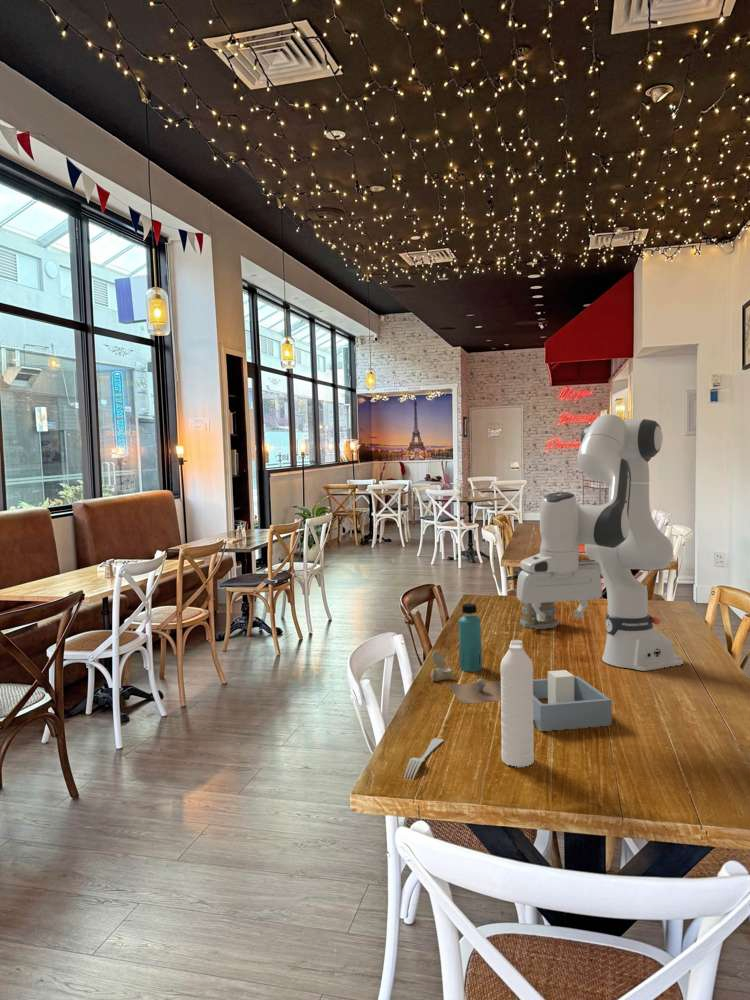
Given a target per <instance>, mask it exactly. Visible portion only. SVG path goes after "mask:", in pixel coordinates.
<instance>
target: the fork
mask: <svg viewBox="0 0 750 1000" xmlns="http://www.w3.org/2000/svg"><path fill="white" fill-rule="evenodd" d="M437 738H438V737H434V738H432V739H431V741H430V743H429V745H428V746H427V749H426V751H424V753H423V754H422V756H421V757H419V758H418V757H411V758H410V759H409V761H408V763H407V766H406V769H405V773H404V776H403V780H405V779H406V781H407V780H408V781H414V779H415V777H416V775H417V773H418V771H419V769H420V767H421V766H422V763H423V762H424V761H426V759H427V757H428V756H429V755H430V754H431V753H432V752H433V751H434V750H435V749H436V748H437V747H438V746H440V745H441V743H443V742H444V741H445V739H444V738H443V739H444V740H443V739H442V738H439V739H437ZM406 776H407V777H406Z"/></svg>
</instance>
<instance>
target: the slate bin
mask: <svg viewBox="0 0 750 1000" xmlns="http://www.w3.org/2000/svg"><path fill="white" fill-rule="evenodd" d="M573 676H574V701H573V702H561V703H549V704H548V703H543V702H541V701H540V700H539V699H548V677H547V678H538V679H533V724H534V725H535V726H536V727H537V728H538V729H539V730H540V731H547V732H553V731H552V730H558V731H566V730H565V729H569V730H578V729H579V728H580V729H587V728H588V727H591V728H601V727H600V726H602V727H610V726H612V699H611V698H609V697H608V696H606V695H605V694H604V693H602V692H601V691H599V690H598V689H597V688H596V687H594V686H593V685H591V684H590V683H589V682H587V681H586V680H584V679H583V678H582V677H580V676H579V675H578V676H577V675H573ZM535 726H534V727H535ZM536 727H535V728H536ZM537 728H536V729H537ZM538 729H537V730H538ZM580 729H579V730H580ZM539 730H538V731H539ZM540 731H539V732H540Z"/></svg>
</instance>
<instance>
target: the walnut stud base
mask: <svg viewBox="0 0 750 1000" xmlns="http://www.w3.org/2000/svg"><path fill="white" fill-rule="evenodd" d="M447 687H448V688H449V689H450V690H451V692H452V693H453V694H454V696H455V697H456V698H457V699H458V701H459V703H460V704H461V705H465V704H467V705H469V704H479V703H490V702H501V682H500V681H499V680H496V681H495V680H494V681H493V680H491V681H485V680H484V679H482V678H478V679H477V680H476V681H475V682H467V683H457V684H456V683H455V684H447Z"/></svg>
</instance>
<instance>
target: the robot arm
mask: <svg viewBox="0 0 750 1000" xmlns="http://www.w3.org/2000/svg"><path fill="white" fill-rule="evenodd" d="M663 440H664V439H663V432H662V428H661V426H660V424H659V423H658V422H657V421H656V420H653V419H646V418H645V419H634V418H633V419H630V418H629V419H628V418H627V419H626V418H625V419H624V418H622V417H620V416H619V415H616V414H613V413H607V414H602V415H599V416H598V417H597V418H595V419H594V421H593V422H591V423H588V424H587V425H585V427H584V428H583V429H582V430H581V433H580V440H579V441H580V445H579V448H578V451H577V455H576V456H577V458H576V461H577V464H578V467H579V468H580V470H581V472H582V473H583V474H584V475H586V476H587V478H589V479H591V480H593V481H596V482H599V483H602V484H605V485H608V502H607V503H604V504H578V503H577V498H576V495H575V494H574V493H571V492H566V491H559V492H552V493H548V494H546V495H544V496H543V497H542V500H541V504H540V505H541V506H540V513H539V533H540V536H541V541H540V546H539V553H537V554H534V555H532V556H529V557H527V558H525V559H524V558H523V559H522V560H520V562H519V563H520V564H519V567H520V568H521V569H522V570H521V571H519V574H518V576H517V582H516V598H517V599H518V601H519V602H521V603H522V604H523V603H524V604H528V603H532V607H533V608H534V610H535V612H536V613H537V620H538V621H545V614H544V613H543V612H541V611H540V609H539V608H538V607H541V603H544V602H554V603H558V602H570V601H577V602H578V603H579V605H578V606H577V608H576V609H573V613H574V614H573V616H574V618H575V619H577V620H578V619H583V618H584V611H585V609H586V608H587V606H588V605H589V604H588V601H589V600H599V599H600V598H601V597H602V595H603V585H602V580H601V579H602V578H601V576H602V577H603V580H604V583H605V587H606V588H605V589H606V597H607V599H606V600H607V612H606V614H605V629H606V630H605V631H606V639H605V645H604V651H603V654H602V657H601V660H602V661H603V662H604V663H605V664H608V665H611V666H615V667H617V668H625V669H633V670H637V671H643V672H645V671H646V672H647V671H653V670H658V669H664V667H665V668H669V667H670V666H671V667H677V666H682V665H681V664H683V665H684V659H683V658H681V656H679V655H678V654H675V653H676V652H675V649H674V644H673V641H671V639H670V638H668V637H667V636H666V635H665V634H663V633H661V631H659V630H658V629H657V628H655V627H654V624H655V625H660V623H661V619H660V618H659V617H657V616H652V615H650V614H648V609H649V608H648V605H649V604H648V590H647V588H646V586H645V585H644V584H643V583H642V582H640V580H638V579H636V577H635V576H634V575H633V573H632V570H631V569H633V570H642V571H643V570H644V571H653V570H654V571H655V570H663V569H666V568H667V567H668V565H670V563H671V561H672V560H673V558H674V557H673V556H674V549H673V548H674V546H673V543H672V542H671V540H670V539H669V537H668V536H667V535H665V534H664V533H663V532H662V531H661V530H660V529H659V528H658V526H657V525H656V523H655V521H654V518H653V516H652V513H651V506H650V468H649V462H650V461H651V459H652V458H653V457H655V456H656V455H657V454H658V453H659V452H660V451H661V448H662V444H663ZM579 545H584V550H585V555H586V556H587V560H585V559H584V560H583V559H582V560H580V559H579V557H580V555H579V554H580V551H579V550H580V548H579V547H580V546H579ZM676 665H677V666H676Z"/></svg>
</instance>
